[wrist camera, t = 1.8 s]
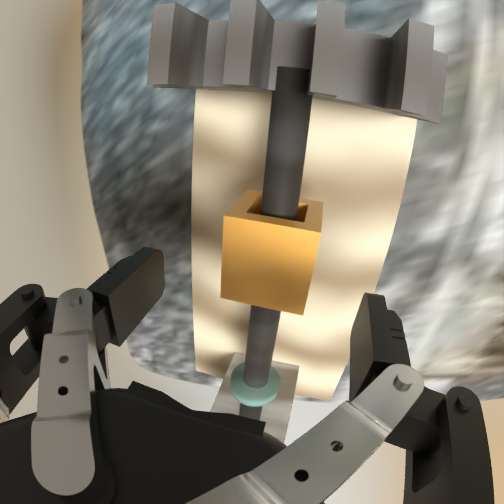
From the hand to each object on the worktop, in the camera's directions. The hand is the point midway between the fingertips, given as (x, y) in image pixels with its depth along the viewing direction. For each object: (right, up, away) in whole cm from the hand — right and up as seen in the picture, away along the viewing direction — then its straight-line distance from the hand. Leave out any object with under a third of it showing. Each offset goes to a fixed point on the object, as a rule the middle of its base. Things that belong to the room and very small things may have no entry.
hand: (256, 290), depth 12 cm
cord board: (+2, +2, +11) cm, 12 cm away
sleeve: (+1, +2, +4) cm, 5 cm away
